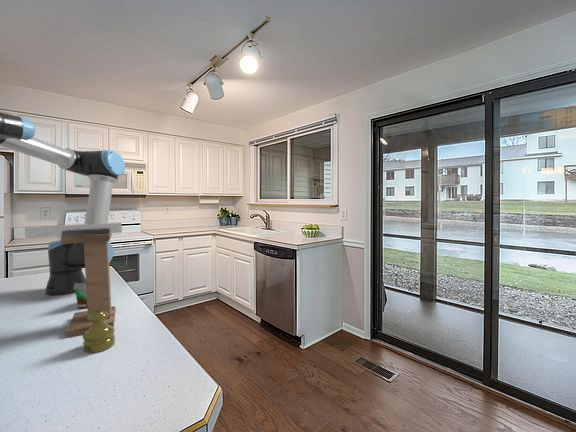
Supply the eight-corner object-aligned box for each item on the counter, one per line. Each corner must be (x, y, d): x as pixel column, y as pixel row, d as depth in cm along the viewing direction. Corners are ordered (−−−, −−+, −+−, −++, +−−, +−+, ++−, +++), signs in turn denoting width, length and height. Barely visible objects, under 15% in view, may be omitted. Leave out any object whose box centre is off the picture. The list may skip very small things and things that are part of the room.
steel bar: (28, 236, 86) (27, 226, 86) (121, 231, 98) (121, 222, 97) (25, 238, 83) (24, 227, 83) (121, 232, 95) (121, 223, 95)
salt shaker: (87, 343, 83) (85, 308, 82) (117, 338, 86) (115, 304, 85) (80, 356, 76) (78, 318, 76) (113, 349, 79) (111, 314, 79)
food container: (88, 311, 107) (87, 284, 106) (74, 310, 108) (73, 283, 107) (114, 299, 119) (113, 275, 118) (102, 298, 120) (100, 275, 119)
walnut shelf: (75, 318, 100) (69, 227, 98) (115, 311, 106) (111, 225, 104) (66, 337, 86) (60, 232, 84) (113, 328, 92) (108, 229, 90)
